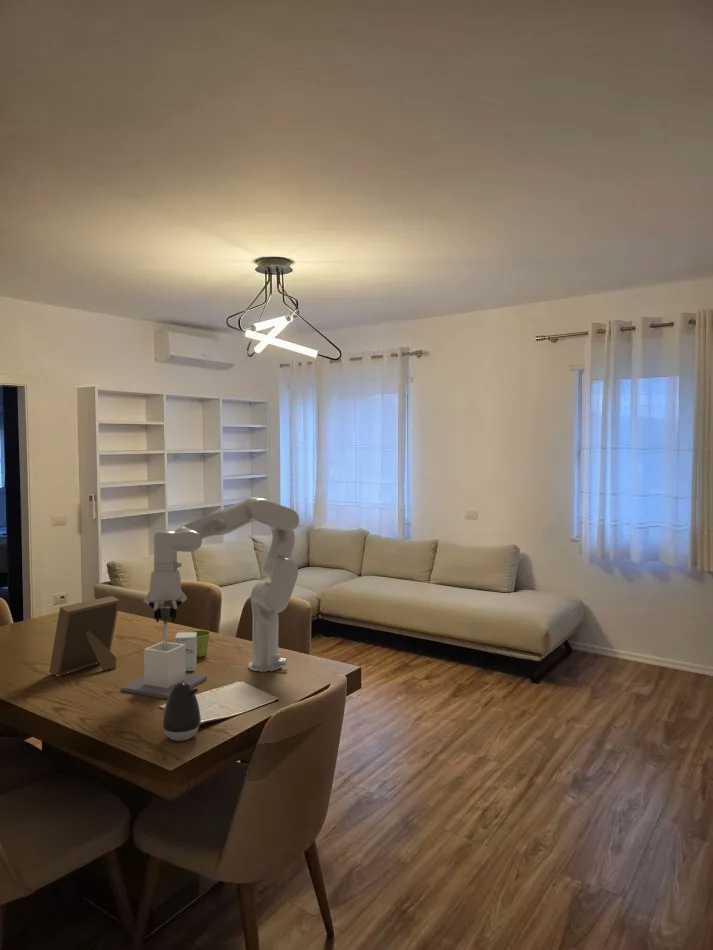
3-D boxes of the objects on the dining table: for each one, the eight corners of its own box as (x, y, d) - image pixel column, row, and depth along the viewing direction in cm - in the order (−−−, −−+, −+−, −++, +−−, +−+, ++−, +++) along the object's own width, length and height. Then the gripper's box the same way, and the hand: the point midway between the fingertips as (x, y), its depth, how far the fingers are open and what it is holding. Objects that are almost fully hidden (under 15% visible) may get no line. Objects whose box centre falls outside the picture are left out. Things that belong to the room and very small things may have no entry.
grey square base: (206, 679, 221) (207, 642, 220) (170, 699, 202) (170, 658, 202) (160, 672, 228) (160, 635, 227) (120, 690, 209) (120, 651, 209)
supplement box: (174, 672, 228) (174, 637, 228) (176, 665, 235) (176, 632, 235) (195, 671, 229) (195, 636, 229) (196, 664, 236) (197, 631, 236)
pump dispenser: (184, 748, 168) (184, 692, 168) (154, 740, 173) (154, 685, 172) (208, 733, 178) (209, 680, 177) (179, 726, 182) (180, 674, 182)
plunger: (180, 656, 217) (180, 606, 216) (167, 662, 210) (167, 611, 210) (163, 654, 219) (163, 604, 219) (149, 660, 213) (150, 609, 212)
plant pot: (196, 660, 241) (196, 638, 241) (181, 655, 247) (181, 633, 247) (215, 654, 249) (215, 632, 249) (200, 650, 254) (200, 628, 254)
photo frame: (49, 674, 223) (49, 604, 223) (101, 658, 242) (102, 594, 242) (76, 683, 216) (76, 610, 215) (127, 665, 235) (128, 599, 234)
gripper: (190, 564, 220) (190, 616, 221) (139, 566, 215) (139, 619, 215) (191, 567, 213) (191, 621, 213) (139, 570, 208) (139, 625, 208)
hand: (165, 620), depth 214 cm, fingers closed on plunger, 4 cm apart
